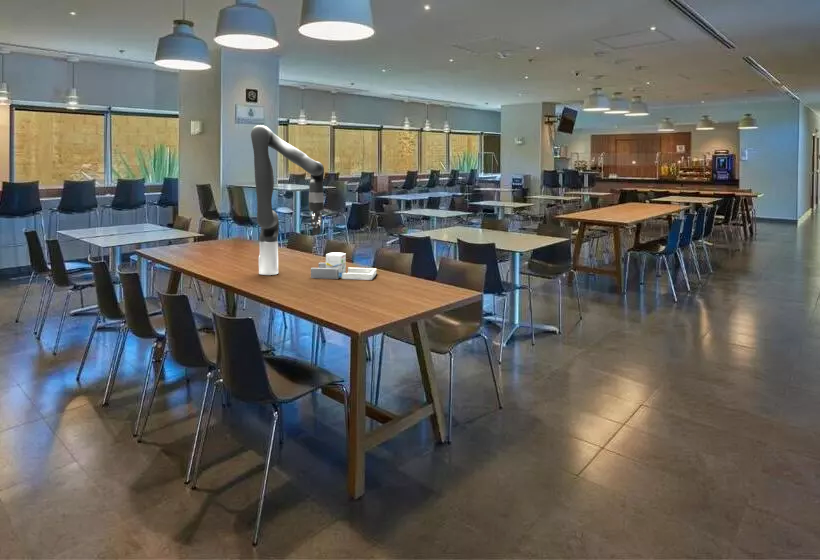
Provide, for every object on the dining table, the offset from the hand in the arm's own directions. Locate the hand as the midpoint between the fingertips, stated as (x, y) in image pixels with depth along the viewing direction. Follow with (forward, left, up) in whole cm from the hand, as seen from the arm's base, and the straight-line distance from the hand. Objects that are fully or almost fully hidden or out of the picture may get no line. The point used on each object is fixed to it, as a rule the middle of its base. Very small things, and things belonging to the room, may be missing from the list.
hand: (316, 233), depth 311 cm
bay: (+6, 0, -21) cm, 22 cm away
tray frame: (+22, 0, -21) cm, 31 cm away
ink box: (+10, 0, -22) cm, 24 cm away
